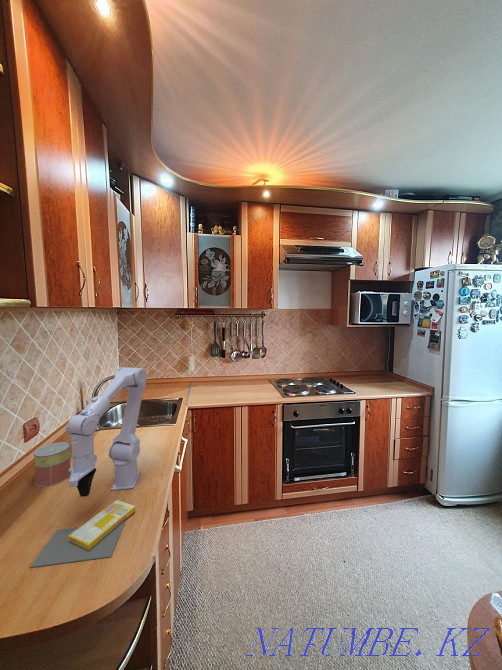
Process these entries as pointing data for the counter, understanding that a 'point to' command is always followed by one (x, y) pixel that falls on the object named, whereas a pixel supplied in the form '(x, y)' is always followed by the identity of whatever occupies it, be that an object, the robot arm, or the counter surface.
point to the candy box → (101, 524)
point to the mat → (75, 548)
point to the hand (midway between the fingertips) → (85, 495)
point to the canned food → (52, 464)
